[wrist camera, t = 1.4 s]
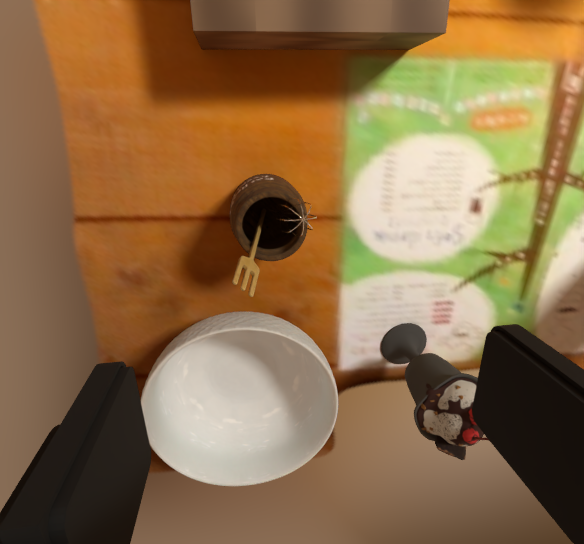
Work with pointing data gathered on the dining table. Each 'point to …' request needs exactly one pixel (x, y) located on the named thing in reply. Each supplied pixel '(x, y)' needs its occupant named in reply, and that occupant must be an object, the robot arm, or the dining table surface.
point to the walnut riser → (318, 24)
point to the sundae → (435, 391)
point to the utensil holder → (266, 223)
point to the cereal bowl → (239, 400)
